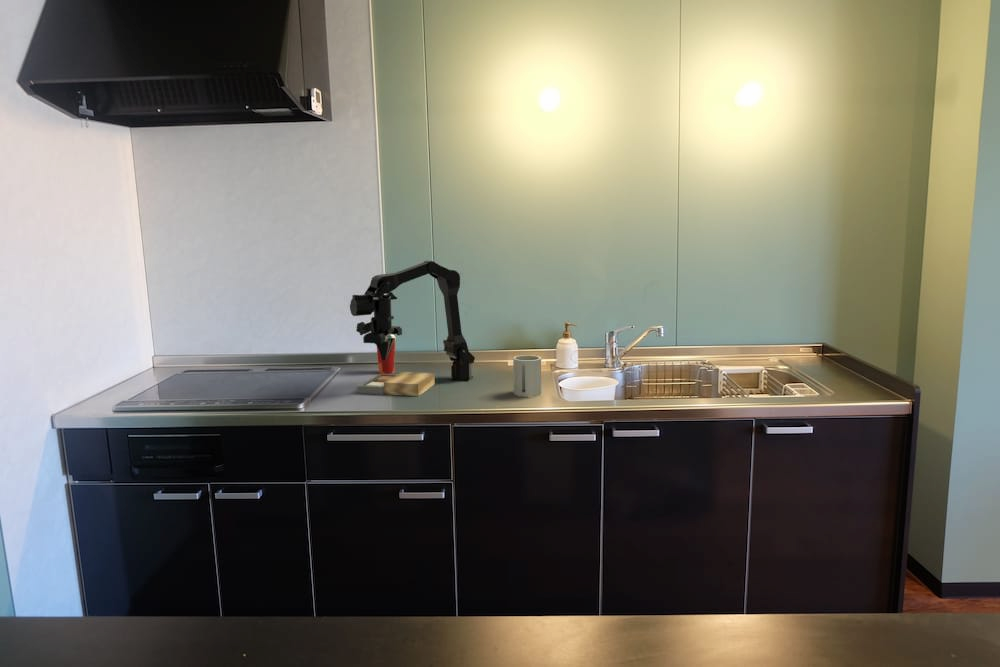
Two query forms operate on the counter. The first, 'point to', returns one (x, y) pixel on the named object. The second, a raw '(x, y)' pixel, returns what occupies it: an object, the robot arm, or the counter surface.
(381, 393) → the box
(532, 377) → the cup
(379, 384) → the off-white tile
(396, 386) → the wooden flat block
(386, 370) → the paper cup
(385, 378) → the terracotta tile
